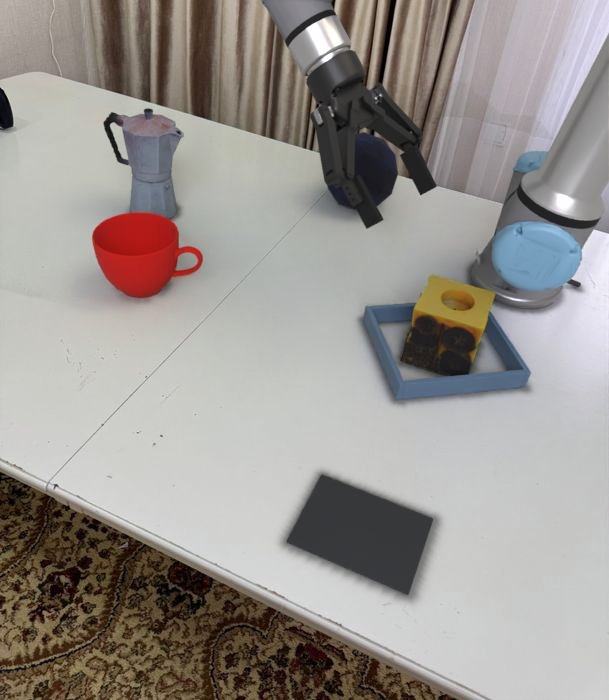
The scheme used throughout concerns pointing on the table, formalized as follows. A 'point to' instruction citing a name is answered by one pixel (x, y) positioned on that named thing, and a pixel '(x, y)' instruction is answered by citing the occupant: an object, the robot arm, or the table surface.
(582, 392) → the table surface
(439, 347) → the candle
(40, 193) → the table surface
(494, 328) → the blue open square frame
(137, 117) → the moka pot
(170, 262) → the ceramic cup
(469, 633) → the table surface
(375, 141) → the decorative orb
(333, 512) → the mat
